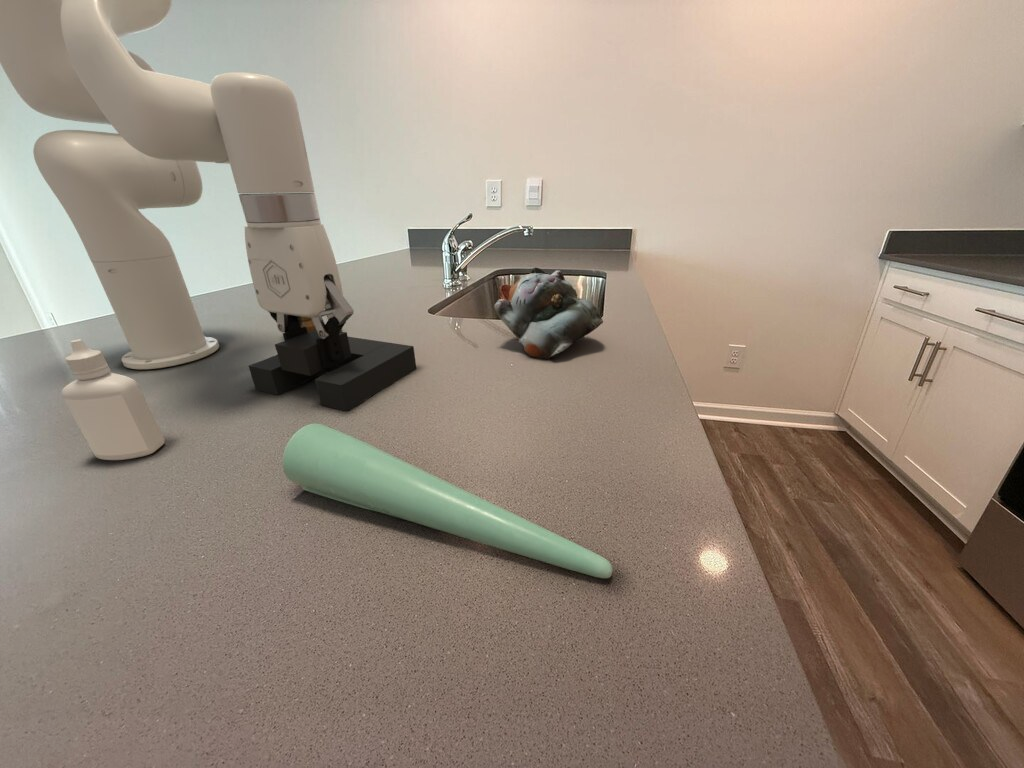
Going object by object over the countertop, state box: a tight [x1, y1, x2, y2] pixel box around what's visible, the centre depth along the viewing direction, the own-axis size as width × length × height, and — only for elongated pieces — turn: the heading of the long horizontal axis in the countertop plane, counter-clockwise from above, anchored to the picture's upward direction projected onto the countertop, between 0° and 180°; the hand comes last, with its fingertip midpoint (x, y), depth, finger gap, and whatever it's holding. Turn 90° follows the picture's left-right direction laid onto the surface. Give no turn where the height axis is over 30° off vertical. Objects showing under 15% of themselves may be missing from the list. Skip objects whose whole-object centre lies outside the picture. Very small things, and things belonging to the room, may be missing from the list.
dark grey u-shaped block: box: [247, 336, 417, 412], centre depth 56 cm, size 16×14×4 cm
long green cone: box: [282, 423, 614, 579], centre depth 31 cm, size 5×6×27 cm
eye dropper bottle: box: [61, 339, 165, 461], centre depth 39 cm, size 4×6×12 cm
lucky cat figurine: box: [493, 267, 604, 360], centre depth 66 cm, size 15×12×14 cm
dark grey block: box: [274, 330, 351, 376], centre depth 53 cm, size 5×7×4 cm
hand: (317, 360), depth 53 cm, fingers closed on dark grey block, 4 cm apart
